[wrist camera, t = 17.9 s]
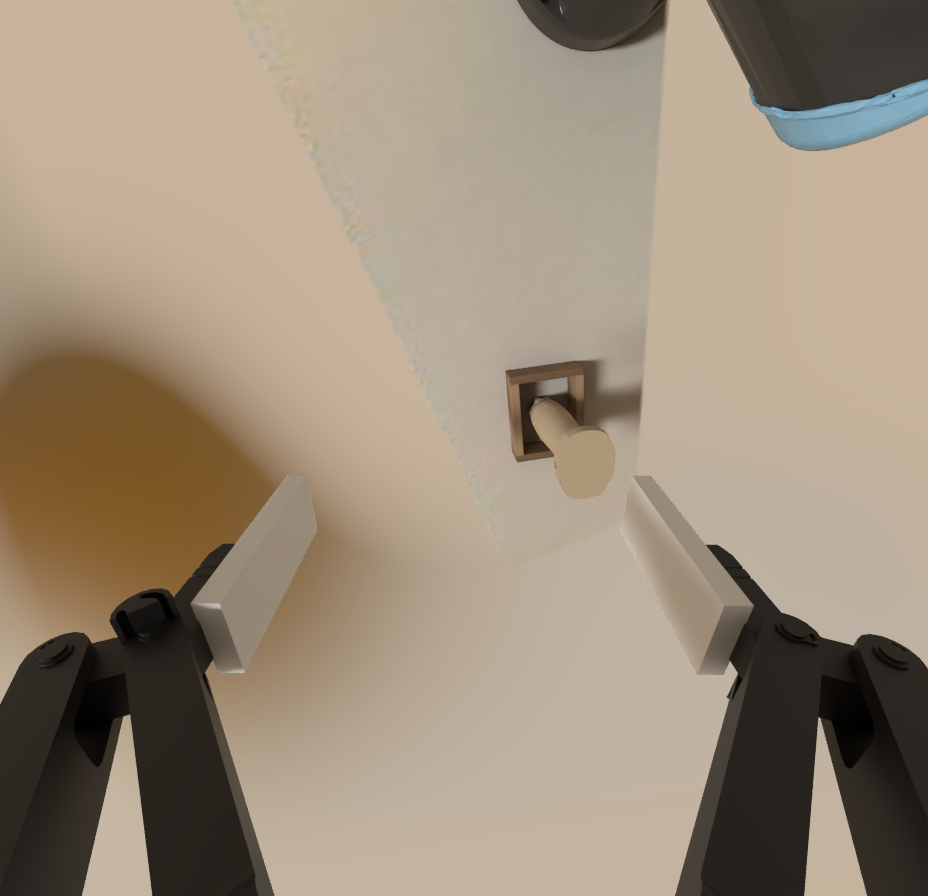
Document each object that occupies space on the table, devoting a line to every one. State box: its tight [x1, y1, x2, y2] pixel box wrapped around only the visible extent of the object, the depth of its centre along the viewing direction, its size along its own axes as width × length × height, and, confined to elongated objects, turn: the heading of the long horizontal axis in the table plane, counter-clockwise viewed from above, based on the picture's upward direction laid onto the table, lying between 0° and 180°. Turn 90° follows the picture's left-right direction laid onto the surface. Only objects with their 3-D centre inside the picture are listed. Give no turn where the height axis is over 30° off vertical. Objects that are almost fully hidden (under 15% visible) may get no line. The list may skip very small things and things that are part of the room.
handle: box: [528, 397, 615, 499], centre depth 41 cm, size 5×6×15 cm
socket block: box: [506, 361, 584, 462], centre depth 47 cm, size 10×8×3 cm
